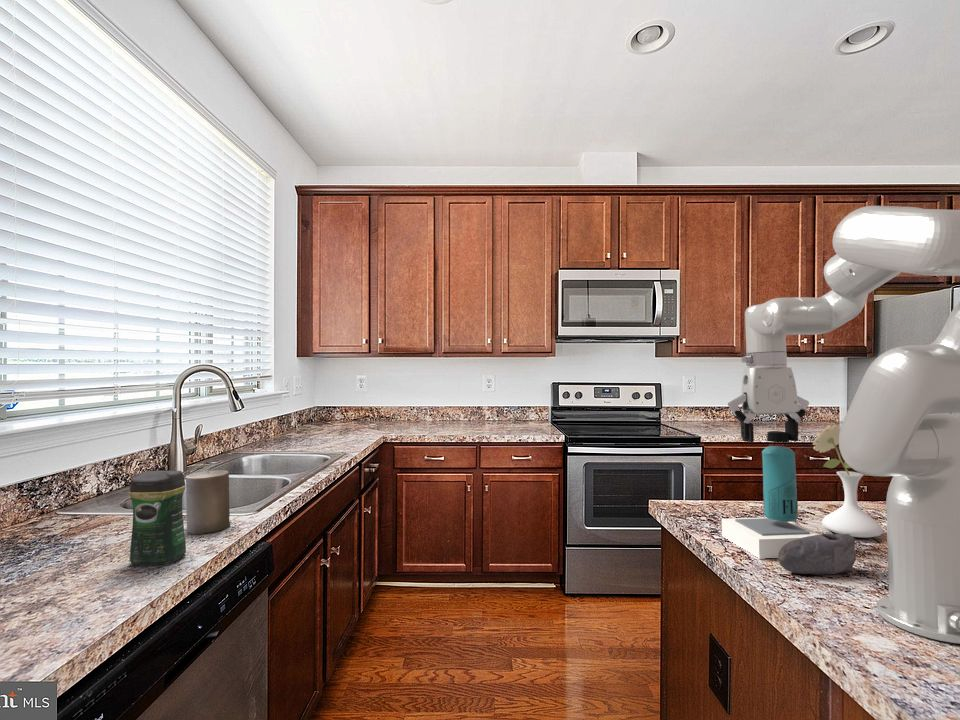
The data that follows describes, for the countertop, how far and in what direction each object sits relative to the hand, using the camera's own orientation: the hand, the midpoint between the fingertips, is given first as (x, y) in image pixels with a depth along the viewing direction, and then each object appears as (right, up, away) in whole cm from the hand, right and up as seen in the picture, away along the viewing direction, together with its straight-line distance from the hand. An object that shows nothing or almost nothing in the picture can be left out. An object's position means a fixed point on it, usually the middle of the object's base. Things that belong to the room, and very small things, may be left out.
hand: (769, 441), depth 107 cm
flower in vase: (+22, -23, +7) cm, 32 cm away
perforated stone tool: (+1, -23, -14) cm, 27 cm away
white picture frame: (0, -23, 0) cm, 23 cm away
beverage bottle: (+3, -18, 0) cm, 18 cm away
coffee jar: (-130, -25, -3) cm, 132 cm away
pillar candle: (-131, -25, +18) cm, 134 cm away
